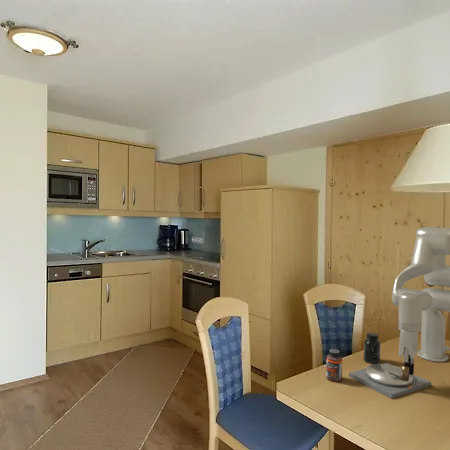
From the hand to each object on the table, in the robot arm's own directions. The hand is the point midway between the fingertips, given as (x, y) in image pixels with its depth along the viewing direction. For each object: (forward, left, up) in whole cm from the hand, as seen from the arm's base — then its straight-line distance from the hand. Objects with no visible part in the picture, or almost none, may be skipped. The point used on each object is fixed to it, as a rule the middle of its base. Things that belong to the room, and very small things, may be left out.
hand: (408, 373), depth 141 cm
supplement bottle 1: (+22, -17, -5) cm, 28 cm away
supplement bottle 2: (-6, -23, -5) cm, 24 cm away
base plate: (+4, -6, -5) cm, 8 cm away
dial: (+4, -6, -3) cm, 7 cm away
